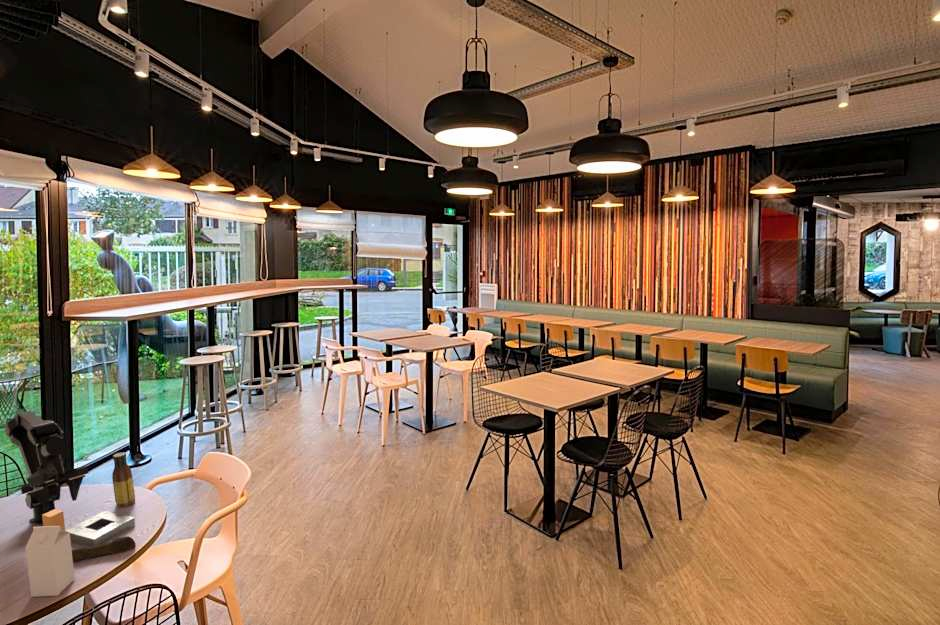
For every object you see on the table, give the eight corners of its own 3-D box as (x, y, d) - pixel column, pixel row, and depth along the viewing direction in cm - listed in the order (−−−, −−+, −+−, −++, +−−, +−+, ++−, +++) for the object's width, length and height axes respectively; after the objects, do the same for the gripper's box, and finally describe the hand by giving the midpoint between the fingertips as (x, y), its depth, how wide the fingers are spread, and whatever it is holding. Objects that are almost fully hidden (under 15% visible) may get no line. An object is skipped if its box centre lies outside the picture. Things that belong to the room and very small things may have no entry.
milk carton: (49, 580, 152) (42, 520, 149) (75, 579, 153) (68, 519, 150) (31, 597, 145) (23, 534, 142) (58, 596, 146) (51, 533, 143)
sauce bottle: (131, 498, 200) (126, 449, 198) (138, 502, 197) (134, 453, 194) (112, 504, 195) (107, 454, 192) (119, 510, 191) (114, 458, 189)
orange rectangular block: (44, 537, 174) (41, 514, 173) (57, 530, 178) (54, 509, 177) (52, 539, 173) (50, 516, 172) (65, 533, 176) (63, 511, 175)
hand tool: (61, 567, 159) (59, 553, 158) (65, 559, 162) (64, 546, 162) (133, 553, 166) (132, 540, 165) (136, 546, 169) (135, 533, 169)
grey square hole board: (64, 539, 172) (63, 531, 172) (105, 518, 186) (104, 510, 185) (95, 547, 168) (94, 539, 168) (134, 525, 181) (134, 517, 181)
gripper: (1, 473, 166) (12, 521, 164) (58, 454, 167) (70, 502, 165) (30, 466, 177) (40, 511, 176) (84, 449, 178) (95, 493, 176)
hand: (61, 504), depth 173 cm, fingers open, 9 cm apart
